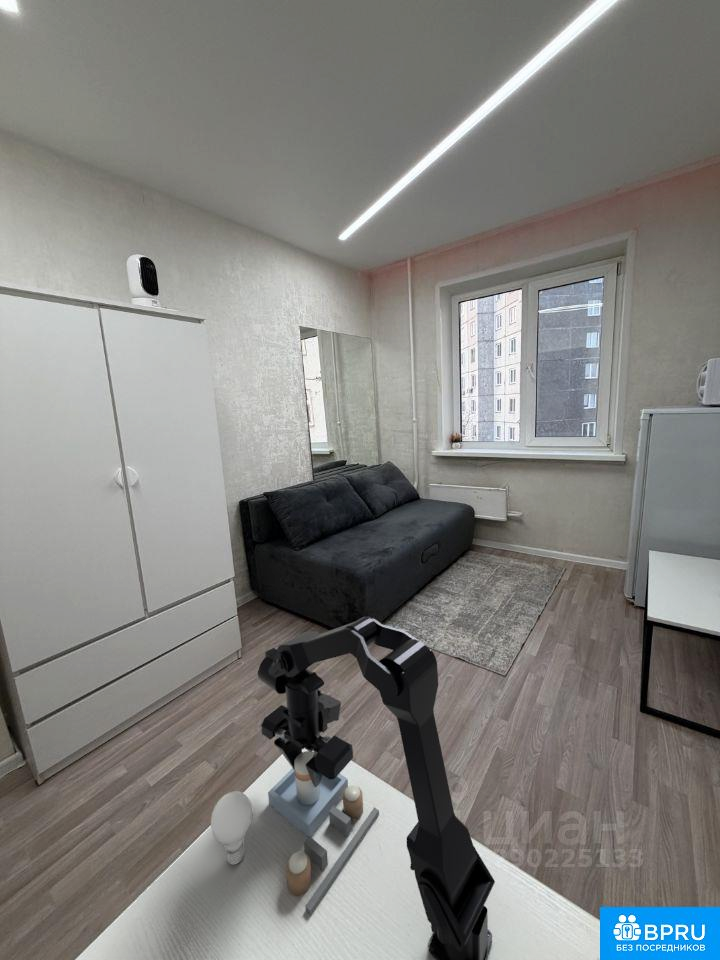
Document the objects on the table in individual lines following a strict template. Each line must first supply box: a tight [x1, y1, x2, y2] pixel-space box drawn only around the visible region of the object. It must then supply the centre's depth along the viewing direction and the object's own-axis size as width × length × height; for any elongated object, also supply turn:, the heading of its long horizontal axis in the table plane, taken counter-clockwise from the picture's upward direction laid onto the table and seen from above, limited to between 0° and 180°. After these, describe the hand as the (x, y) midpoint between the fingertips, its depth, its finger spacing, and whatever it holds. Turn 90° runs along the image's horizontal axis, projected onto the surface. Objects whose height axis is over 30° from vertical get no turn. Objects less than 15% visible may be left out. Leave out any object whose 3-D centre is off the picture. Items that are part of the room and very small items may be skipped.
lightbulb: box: [210, 790, 253, 865], centre depth 61 cm, size 6×6×11 cm
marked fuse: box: [294, 750, 320, 806], centre depth 71 cm, size 4×4×7 cm
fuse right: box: [342, 784, 364, 821], centre depth 69 cm, size 4×4×4 cm
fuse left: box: [285, 851, 312, 897], centre depth 58 cm, size 4×4×4 cm
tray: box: [267, 767, 349, 838], centre depth 72 cm, size 11×11×2 cm
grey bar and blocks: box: [303, 806, 380, 916], centre depth 63 cm, size 6×18×2 cm, turn 143°
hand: (308, 778), depth 71 cm, fingers closed on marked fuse, 4 cm apart
